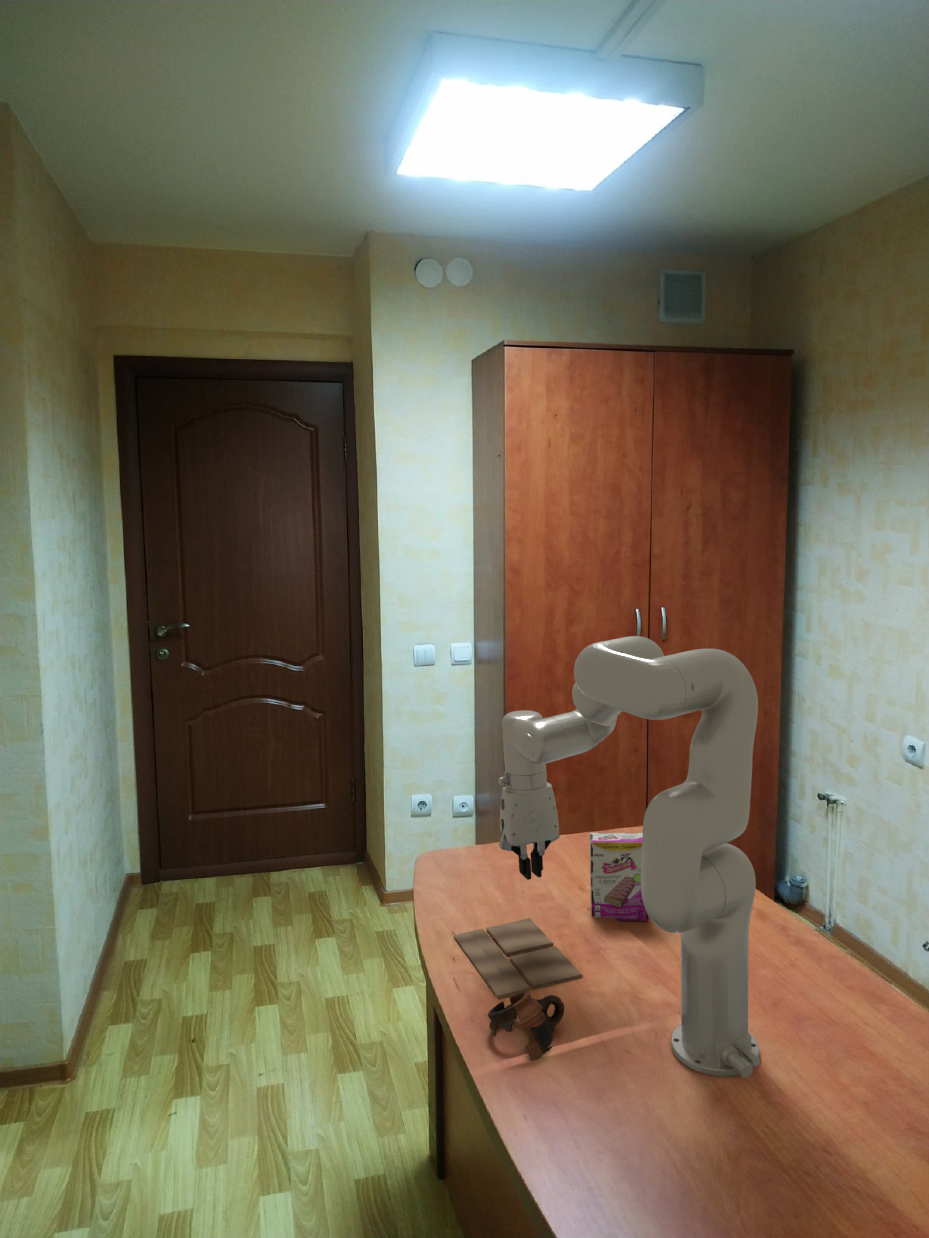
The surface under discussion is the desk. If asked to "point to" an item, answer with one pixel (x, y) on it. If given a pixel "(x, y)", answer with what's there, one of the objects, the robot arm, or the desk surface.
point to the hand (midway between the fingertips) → (531, 875)
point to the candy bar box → (616, 876)
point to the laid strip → (491, 963)
